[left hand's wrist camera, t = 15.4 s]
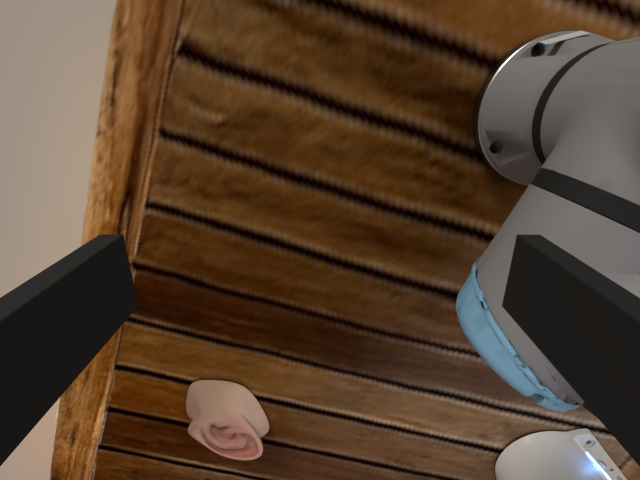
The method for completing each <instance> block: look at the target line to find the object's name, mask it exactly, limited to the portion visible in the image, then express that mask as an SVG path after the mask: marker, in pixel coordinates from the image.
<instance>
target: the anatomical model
mask: <svg viewBox="0 0 640 480" xmlns="http://www.w3.org/2000/svg"><path fill="white" fill-rule="evenodd" d="M186 411H187V415H188V416H189V418H190V419H191V420H192V422H191V423H190V425H189V428H188V432H189V434H190V435H191V436H192V437H193V438H195V439H196V440H197V441H199V442H200V443H202V444H203V445H204V446H206V447H207V448H209V449H210V450H212V451H213V452H215V453H217V454H219V455H221V456H224V457H227V458H231V459H236V460H253V459H256V458H258V457H260V456H261V455H262V452H263V444H262V441H261V439H260V438H261V437H263V436H264V435H265V434H266V433H267V432H268V430H269V422H268V419H267V417H266V415H265V413H264V411H263V409H262V407H261V405H260V404H259V402H258V401H257V399H256V398H255V397H254V395H253V394H252V393H251V392H250V391H249V390H248V389H247V388H245V387H244V386H242V385H240V384H237V383H234V382H229V381H222V380H199V381H195V382H193V383H192V384H191V385H190V387H189V389H188V392H187V398H186Z"/></svg>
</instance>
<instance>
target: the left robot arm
mask: <svg viewBox="0 0 640 480" xmlns="http://www.w3.org/2000/svg"><path fill="white" fill-rule="evenodd" d="M473 132H474V138H475V143H476V146H477V149H478V151H479V153H480V155H481V157H482V158H483V160H484V161H485V162H486V164H487V165H488V166H489V167H490V168H491V169H492V170H493V171H495V172H496V173H497V174H499V175H501V176H503V177H505V178H507V179H509V180H511V181H514V182H516V183H519V184H523V185H528V187H527V189H526V190H525V192H524V193H523V195H522V196H521V198H520V199H519V201H518V202H517V204H516V205H515V207H514V208H513V210H512V211H511V213H510V214H509V216H508V217H507V219H506V220H505V222H504V223H503V225H502V226H501V228H500V229H499V231H498V232H497V234H496V235H495V237H494V239H493V240H492V241H491V243H490V244H489V246H488V247H487V249H486V250H485V251H484V253H483V254H482V256H481V257H480V258H478V259H477V260H476V261H475V263H474V264H473V266H472V271H471V273H470V275H469V277H468V278H467V280H466V282H465V284H464V285H463V287H462V289H461V290H460V292H459V294H458V296H457V300H456V311H457V316H458V318H459V323H460V325H461V328H462V330H463V332H464V333H465V335H466V337H467V339H468V340H469V342H470V343H471V345H472V346H473V347H474V349H475V350H476V351H477V352H478V354H479V355H480V356H481V357H482V358H483V360H484V361H485V362H486V363H487V364H488V365H489V366H490V367H491V368H492V369H493V370H494V371H495V372H496V373H497V374H498V375H499V376H500V377H501V378H502V379H503V380H504V381H506V382H507V383H508V384H509V385H510V386H512V387H513V388H514V389H515V390H517V391H518V392H520V393H521V394H523V395H524V396H531V397H532V399H533V400H534V401H535V402H536V403H537V404H539V405H541V406H543V407H545V408H547V409H550V410H553V411H561V412H564V411H568V410H570V409H576V408H577V407H579V406H580V404H581V405H582V406H583V407H585V408H586V409H587V410H588V411H590V412H591V413H592V414H593V415H595V416H596V417H597V418H598V419H600V421H601V422H602V423H603V424H604V425H605V426H606V428H607V429H608V430H609V431H610V432H611V433H612V435H613V436H614V437H615V438H616V439H617V440H618V442H619V443H620V444H621V445H622V446H623V447H624V448H625V450H626V451H627V452H628V453H629V454H630V455H631V457H632V458H633V459H634V460H635V461H636V462H637V464H638V465H639V466H640V37H637V38H632V39H627V40H622V41H617V42H616V41H614V40H611V39H608V38H605V37H602V36H600V35H597V34H594V33H591V32H587V31H581V30H563V31H557V32H553V33H549V34H545V35H542V36H539V37H536V38H533V39H531V40H528V41H526V42H525V43H523V44H521V45H519V46H518V47H516V48H515V49H513V50H512V51H511V52H509V53H508V54H507V55H506V56H505V57H504V58H503V59H502V60H501V61H500V62H499V63H498V64H497V65H496V66H495V67H494V69H493V70H492V71H491V73H490V74H489V76H488V77H487V79H486V80H485V82H484V84H483V86H482V88H481V90H480V93H479V95H478V98H477V101H476V105H475V109H474V116H473ZM137 307H138V303H137V298H136V294H135V289H134V284H133V279H132V275H131V270H130V265H129V260H128V256H127V251H126V246H125V242H124V237H123V235H99V236H97V237H95V238H94V239H92V240H91V241H89V242H88V243H86V244H84V245H83V246H81V247H80V248H78V249H77V250H75V251H73V252H72V253H70V254H69V255H67V256H66V257H64V258H62V259H61V260H59V261H58V262H56V263H55V264H53V265H51V266H50V267H48V268H47V269H45V270H44V271H42V272H40V273H39V274H37V275H36V276H34V277H33V278H31V279H29V280H28V281H26V282H25V283H23V284H22V285H20V286H18V287H17V288H15V289H14V290H12V291H11V292H9V293H7V294H6V295H4V296H3V297H1V298H0V466H1V465H2V464H3V462H4V461H5V460H6V459H7V458H8V457H9V455H10V454H11V453H12V452H13V451H14V450H15V448H16V447H17V446H18V445H19V444H20V443H21V441H22V440H23V439H24V438H25V437H26V436H27V435H28V433H29V432H30V431H31V430H32V429H33V428H34V426H35V425H36V424H37V423H38V422H39V421H40V419H41V418H42V417H43V416H44V415H45V414H46V412H47V411H48V410H49V409H50V408H51V407H52V405H53V404H54V403H55V402H56V401H57V400H58V399H59V397H60V396H61V395H62V394H63V393H64V392H65V390H66V389H67V388H68V387H69V386H70V385H71V383H72V382H73V381H74V380H75V379H76V378H77V376H78V375H79V374H80V373H81V372H82V371H83V370H84V368H85V367H86V366H87V365H88V364H89V363H90V361H91V360H92V359H93V358H94V357H95V356H96V354H97V353H98V352H99V351H100V350H101V349H102V347H103V346H104V345H105V344H106V343H107V342H108V340H109V339H110V338H111V337H112V336H113V335H114V334H115V332H116V331H117V330H118V329H119V328H120V327H121V325H122V324H123V323H124V322H125V321H126V320H127V318H128V317H129V316H130V315H131V314H132V313H133V311H134V310H135V309H136V308H137Z"/></svg>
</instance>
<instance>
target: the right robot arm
mask: <svg viewBox="0 0 640 480" xmlns="http://www.w3.org/2000/svg"><path fill="white" fill-rule="evenodd" d="M495 474H496V480H627V479H626V478H625V476H624V475H623V473H622V472H621V471H620V469H619V468H618V467H617V465H616V464H615V463H614V461H613V460H612V459H611V458H610V456H609V455H608V454H607V452H606V451H605V450H604V448H603V447H602V446H601V444H600V443H599V442H598V441H597V439H596V438H595V437H594V435H593V434H592V433H591V431H590V430H588V429H586V428H582V429H576V430H572V431H567V432H561V431H544V432H538V433H533V434H530V435H527V436H525V437H522V438H520V439H518V440H516V441H515V442H513V443H512V444H510V445H509V446H508V447H507V448H506V449H505V450H504V451H503V452H502V453H501V454H500V456H499V457H498V459H497V462H496V465H495Z"/></svg>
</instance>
